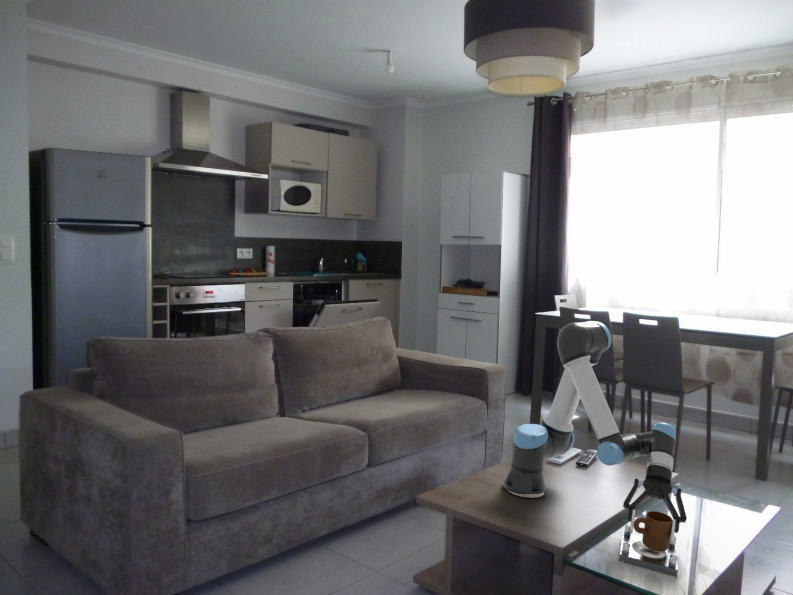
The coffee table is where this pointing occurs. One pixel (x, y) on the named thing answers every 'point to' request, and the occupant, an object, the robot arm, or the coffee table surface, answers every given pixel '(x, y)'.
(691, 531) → the coffee table surface
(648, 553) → the chassis
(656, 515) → the mug
